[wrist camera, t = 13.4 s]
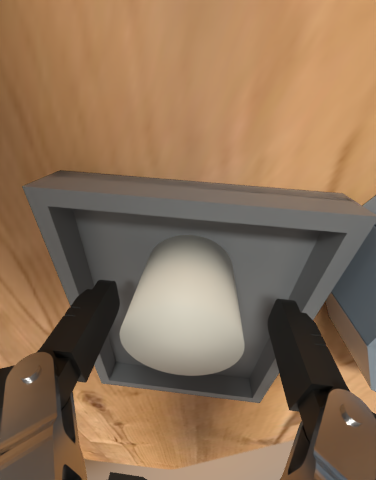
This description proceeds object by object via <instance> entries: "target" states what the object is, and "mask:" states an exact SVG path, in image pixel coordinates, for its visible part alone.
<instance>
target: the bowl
mask: <svg viewBox="0 0 376 480" xmlns="http://www.w3.org/2000/svg"><path fill="white" fill-rule="evenodd" d="M363 207H365V208H366V209H368V210H369V211H371V212H372V213H374V214H376V196H374V197H373V198H372V199H370V200H369V201H368V202H367V203H365V204H364V205H363ZM326 306H327V310H328V315H329V317H330V319H331V321H332V322H333V324H334V326H335V328H336V329H337V331H338V333H339V334H340V336H341V338H342V340H343V341H344V343H345V345H346V347H347V348H348V350H349V352H350V354H351V355H352V357H353V359H354V360H355V362H356V364H357V366H358V367H359V369H360V371H361V373H362V374H363V376H364V378H365V379H366V381H367V383H368V385H369V386H370V388H371V390H373V391H375V392H376V223H375V224H374V226H373V228H372V229H371V231H370V232H369V234H368V235H367V237H366V238H365V240H364V242H363V243H362V245H361V246H360V248H359V249H358V251H357V252H356V254H355V256H354V257H353V259H352V260H351V262H350V263H349V265H348V266H347V268H346V270H345V271H344V273H343V274H342V276H341V277H340V279H339V280H338V282H337V284H336V285H335V287H334V288H333V290H332V291H331V293H330V294H329V296H328V298H327V299H326Z"/></svg>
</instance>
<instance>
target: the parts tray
mask: <svg viewBox="0 0 376 480" xmlns="http://www.w3.org/2000/svg"><path fill="white" fill-rule="evenodd" d="M22 187H23V190H24V192H25V195H26V197H27V200H28V202H29V204H30V207H31V209H32V212H33V214H34V217H35V219H36V222H37V224H38V227H39V229H40V232H41V234H42V237H43V239H44V242H45V244H46V247H47V249H48V251H49V254H50V256H51V259H52V261H53V264H54V266H55V269H56V271H57V274H58V276H59V279H60V281H61V284H62V286H63V289H64V291H65V294H66V296H67V299H68V301H69V303H70V306H71V305H72V303H73V302H74V301H75V299H76V298H77V297H78V296H79V295H80V294H81V293H83V292H84V291H85V290H87V289H93V287H94V286H95V284H96V283H97V281H98V280H110V281H115V282H116V284H117V289H118V294H119V299H120V307H119V311H118V314H117V316H116V318H115V320H114V323H113V325H112V327H111V329H110V331H109V333H108V336H107V338H106V340H105V342H104V344H103V347H102V349H101V351H100V353H99V355H98V358H97V360H96V362H95V364H94V365H95V368H96V370H97V373H98V375H99V378H100V380H101V383H103V384H111V385H119V386H127V387H135V388H143V389H151V390H159V391H167V392H175V393H183V394H191V395H199V396H207V397H215V398H223V399H231V400H239V401H247V402H255V403H260V402H261V400H262V399H263V397H264V396H265V394H266V392H267V391H268V389H269V388H270V386H271V385H272V383H273V382H274V380H275V378H276V377H277V375H278V374H279V370H278V366H277V362H276V358H275V354H274V351H273V347H272V343H271V339H270V335H269V332H268V318H269V315H270V313H271V310H272V308H273V306H274V303H275V301H276V299H287V300H294V301H295V302H296V303H297V305H298V307H299V310H300V312H301V313H307V314H308V316H309V317H310V318H311V319H312V320H313V319H314V318H315V316H316V315H317V313H318V312H319V310H320V308H321V307H322V305H323V304H324V302H325V301H326V299H327V298H328V296H329V294H330V293H331V291H332V290H333V288H334V287H335V285H336V284H337V282H338V280H339V279H340V277H341V276H342V274H343V273H344V271H345V270H346V268H347V266H348V265H349V263H350V262H351V260H352V259H353V257H354V256H355V254H356V252H357V251H358V249H359V248H360V246H361V245H362V243H363V242H364V240H365V238H366V237H367V235H368V234H369V232H370V231H371V229H372V228H373V226H374V224H375V223H376V214H374V213H372V212H371V211H369V210H368V209H366V208H365V207H363V206H361V205H360V204H358V203H357V202H355V201H354V200H352V199H351V198H349V197H347V196H346V195H344V194H343V193H330V192H318V191H306V190H294V189H281V188H269V187H257V186H245V185H232V184H220V183H208V182H196V181H183V180H171V179H159V178H147V177H134V176H122V175H110V174H98V173H86V172H73V171H61V170H60V171H57V172H55V173H53V174H50V175H48V176H46V177H43V178H41V179H38V180H36V181H34V182H31V183H29V184H27V185H24V186H22ZM179 235H195V236H201V237H204V238H207V239H210V240H212V241H214V242H215V243H217V244H218V245H220V246H221V247H222V248H223V249H224V250H225V251H226V252H227V254H228V255H229V257H230V259H231V261H232V265H233V272H234V278H235V285H236V291H237V298H238V305H239V311H240V318H241V324H242V331H243V338H244V352H243V355H242V357H241V358H240V359H239V360H238V362H236V363H235V364H234V365H233V366H231V367H229V368H227V369H225V370H223V371H220V372H217V373H213V374H208V375H199V376H186V375H176V374H170V373H166V372H162V371H159V370H156V369H153V368H151V367H148V366H146V365H144V364H142V363H141V362H139V361H137V360H136V359H135V358H133V357H132V356H131V355H130V354H129V353H128V352H127V351H126V350H125V348H124V347H123V345H122V343H121V340H120V329H121V326H122V324H123V321H124V319H125V316H126V314H127V311H128V309H129V306H130V304H131V301H132V299H133V296H134V294H135V291H136V289H137V286H138V284H139V281H140V279H141V276H142V274H143V271H144V269H145V266H146V264H147V261H148V259H149V256H150V254H151V252H152V250H153V249H154V248H155V247H156V246H157V245H158V244H159V243H161V242H162V241H164V240H166V239H168V238H171V237H174V236H179Z"/></svg>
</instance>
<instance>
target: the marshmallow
mask: <svg viewBox="0 0 376 480" xmlns="http://www.w3.org/2000/svg"><path fill="white" fill-rule="evenodd" d="M120 340H121V343H122V345H123V347H124V348H125V350H126V351H127V352H128V353H129V354H130V355H131V356H132V357H133V358H135V359H136V360H137V361H139V362H141V363H142V364H144V365H146V366H148V367H151V368H153V369H156V370H159V371H162V372H166V373H170V374H176V375H186V376H199V375H208V374H213V373H217V372H220V371H223V370H225V369H227V368H229V367H231V366H233V365H234V364H235V363H236V362H238V360H239V359H240V358H241V357H242V355H243V352H244V338H243V331H242V324H241V318H240V311H239V305H238V298H237V291H236V285H235V278H234V272H233V265H232V261H231V259H230V257H229V255H228V254H227V252H226V251H225V250H224V249H223V248H222V247H221V246H220V245H218V244H217V243H215V242H214V241H212V240H210V239H207V238H204V237H201V236H195V235H179V236H174V237H171V238H168V239H166V240H164V241H162V242H161V243H159V244H158V245H157V246H156V247H155V248H154V249H153V250H152V252H151V254H150V256H149V259H148V261H147V264H146V266H145V269H144V271H143V274H142V276H141V279H140V281H139V284H138V286H137V289H136V291H135V294H134V296H133V299H132V301H131V304H130V306H129V309H128V311H127V314H126V316H125V319H124V321H123V324H122V326H121V329H120Z"/></svg>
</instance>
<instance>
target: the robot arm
mask: <svg viewBox="0 0 376 480" xmlns="http://www.w3.org/2000/svg"><path fill="white" fill-rule="evenodd" d="M119 307H120V299H119V294H118V289H117V284H116V282H115V281H110V280H98V281H97V283H96V284H95V286H94V287H93V289H87V290H85V291H84V292H83V293H81V294H80V295H79V296H78V297H77V298H76V299H75V301H74V302H73V303H72V305H71V307H70V308H69V309H68V310H67V312H66V313H65V316H63V317H62V319H61V320H60V322H59V323H58V324H57V326H56V327H55V329H54V330H53V331H52V333H51V334H50V336H49V337H48V338H47V340H46V341H45V343H44V344H43V345H42V347H41V348H40V349H39V350H38V351H37V352H36V353H34V354H31V355H29V356H27V357H25V358H23V359H22V360H21V361H19V362H18V363H17V364H16V365H14V366H11V367H6V368H1V369H0V480H87V474H86V467H85V462H84V458H83V454H82V451H81V448H80V444H79V437H78V429H77V422H76V414H75V406H74V399H73V392H72V391H73V389H74V387H75V385H76V383H77V381H79V382H87V380H88V377H89V375H90V373H91V371H92V369H93V366H94V364H95V362H96V360H97V358H98V355H99V353H100V351H101V349H102V347H103V344H104V342H105V340H106V338H107V336H108V333H109V331H110V329H111V327H112V325H113V323H114V320H115V318H116V316H117V314H118V311H119ZM268 332H269V335H270V339H271V343H272V347H273V351H274V354H275V358H276V362H277V366H278V370H279V373H280V377H281V381H282V385H283V388H284V392H285V396H286V400H287V404H288V407H289V410H292V411H299V412H300V415H301V419H302V421H301V423H300V425H299V428H298V431H297V434H296V437H295V440H294V443H293V446H292V449H291V452H290V455H289V458H288V461H287V464H286V467H285V470H284V472H283V475H282V477H281V479H280V480H376V414H375V413H373V412H371V410H370V409H369V408H368V407H367V405H366V404H365V403H364V402H363V401H362V400H361V399H360V398H358V397H357V396H356V395H354V394H353V393H351V392H350V390H349V389H348V387H347V385H346V384H345V382H344V380H343V378H342V376H341V374H340V372H339V369H338V367H337V365H336V363H335V361H334V359H333V357H332V355H331V353H330V351H329V349H328V347H326V343H325V341H324V339H323V337H321V333H320V331H319V329H318V327H317V325H316V323H315V322H314V321H313V320H312V319H311V318H310V317H309V316H308V314H307V313H301V312H300V310H299V307H298V305H297V303H296V302H295V301H294V300H287V299H276V301H275V303H274V306H273V308H272V310H271V313H270V315H269V318H268ZM108 480H147V479H145V478H143V477H139V476H132V475H126V474H119V473H112V472H110V475H109V479H108Z"/></svg>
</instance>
